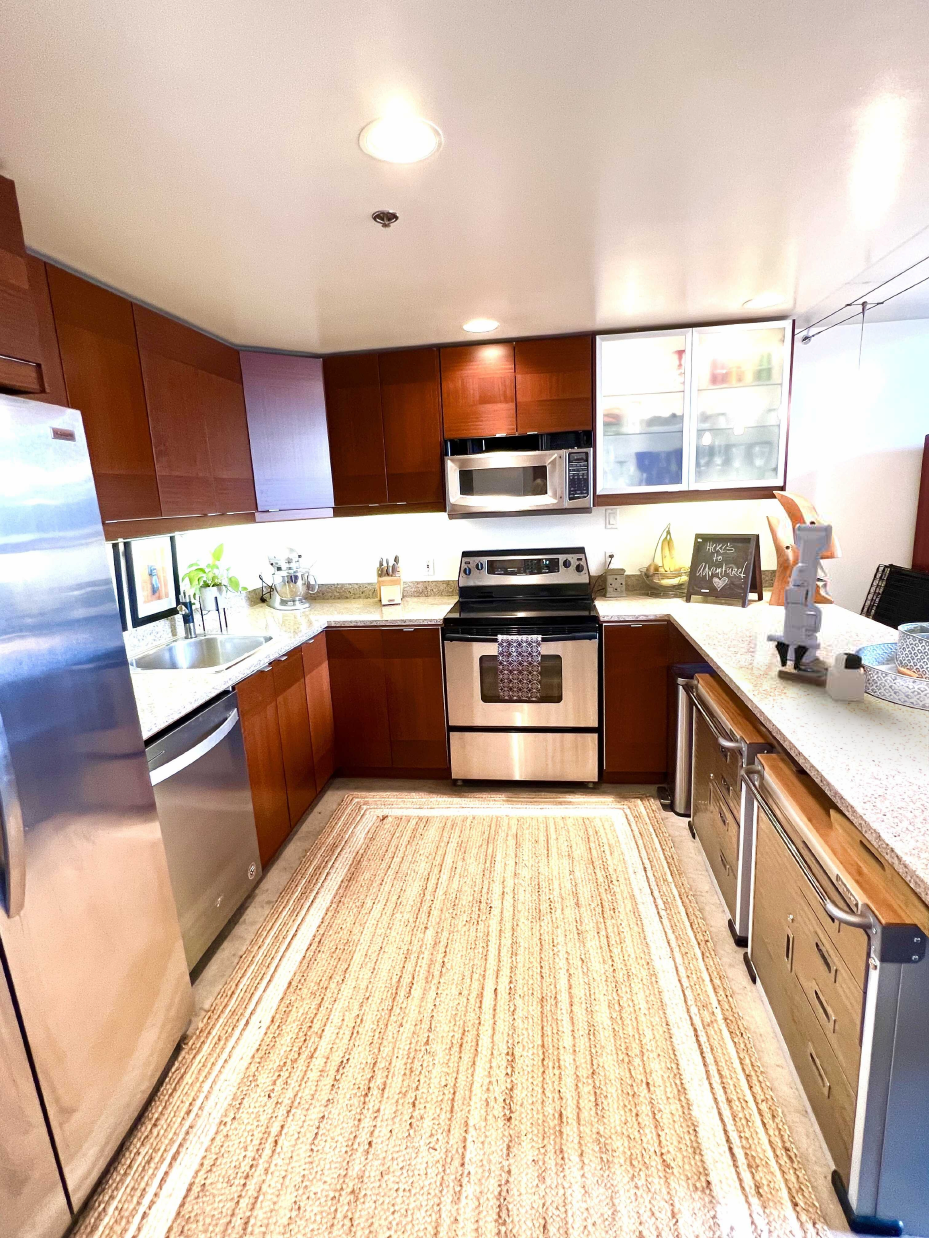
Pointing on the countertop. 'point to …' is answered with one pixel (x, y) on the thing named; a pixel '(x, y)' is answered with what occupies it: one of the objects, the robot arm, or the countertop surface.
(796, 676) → the cradle
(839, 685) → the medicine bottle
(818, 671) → the ring
